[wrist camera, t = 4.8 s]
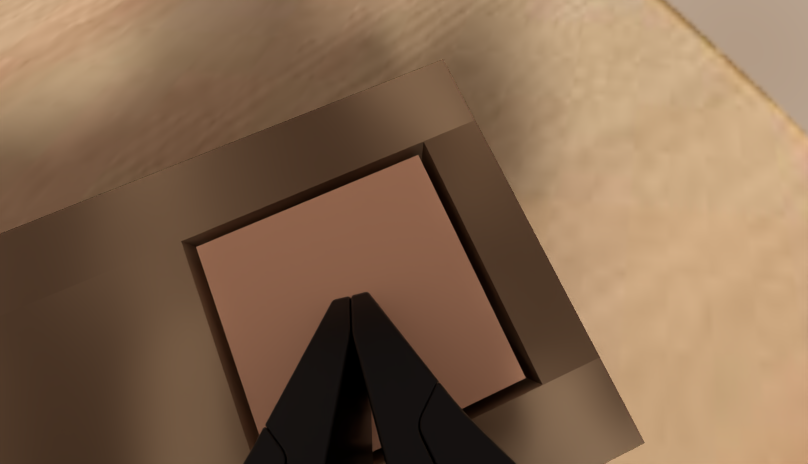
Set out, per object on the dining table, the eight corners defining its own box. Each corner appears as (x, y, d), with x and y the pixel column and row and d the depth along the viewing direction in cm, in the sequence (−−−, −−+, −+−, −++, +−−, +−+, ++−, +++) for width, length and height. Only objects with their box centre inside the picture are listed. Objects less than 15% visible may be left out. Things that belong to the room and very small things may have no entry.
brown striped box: (428, 159, 18) (442, 59, 11) (540, 391, 16) (644, 442, 9) (-125, 389, 16) (-524, 439, 9) (-79, 692, 14) (-555, 1056, 7)
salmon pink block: (412, 221, 17) (418, 154, 11) (474, 354, 16) (525, 378, 9) (280, 277, 17) (196, 247, 10) (334, 420, 16) (279, 495, 9)
